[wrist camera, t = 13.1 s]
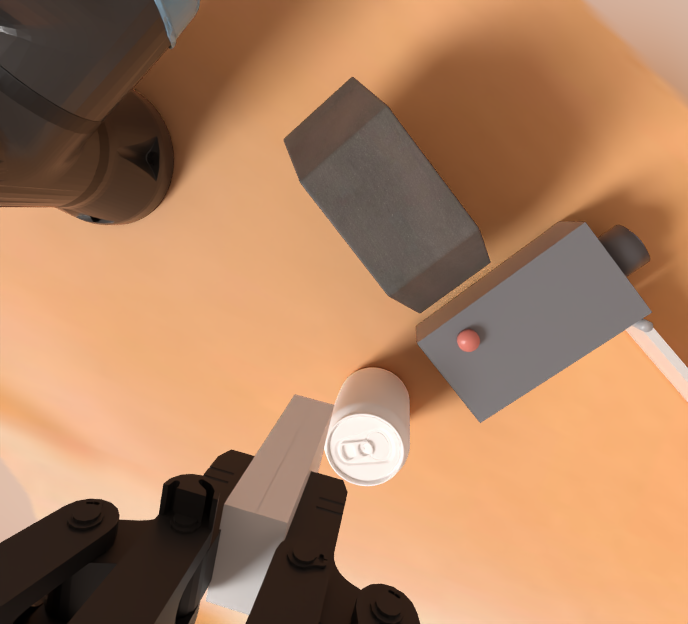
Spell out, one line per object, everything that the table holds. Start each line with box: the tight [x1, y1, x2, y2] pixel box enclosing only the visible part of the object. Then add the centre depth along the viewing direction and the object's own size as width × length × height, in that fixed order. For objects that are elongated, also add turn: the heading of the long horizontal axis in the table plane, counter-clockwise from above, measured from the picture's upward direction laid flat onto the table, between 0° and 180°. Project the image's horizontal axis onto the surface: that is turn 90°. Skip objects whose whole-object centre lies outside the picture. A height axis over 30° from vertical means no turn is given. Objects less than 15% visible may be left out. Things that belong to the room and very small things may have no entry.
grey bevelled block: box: [284, 77, 490, 313], centre depth 40 cm, size 17×8×21 cm
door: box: [626, 319, 688, 402], centre depth 44 cm, size 14×2×7 cm, turn 43°
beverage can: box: [324, 368, 410, 486], centre depth 47 cm, size 8×8×12 cm
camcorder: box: [416, 221, 652, 423], centre depth 44 cm, size 21×10×8 cm, turn 129°
